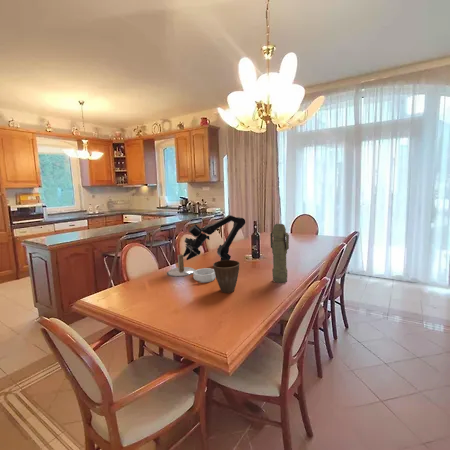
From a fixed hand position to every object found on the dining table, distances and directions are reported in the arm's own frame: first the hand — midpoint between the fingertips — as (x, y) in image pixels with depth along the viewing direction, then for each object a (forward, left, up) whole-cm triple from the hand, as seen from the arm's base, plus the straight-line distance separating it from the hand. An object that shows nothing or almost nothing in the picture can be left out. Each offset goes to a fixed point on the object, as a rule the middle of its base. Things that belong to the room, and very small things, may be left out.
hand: (185, 258), depth 197 cm
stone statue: (-62, +20, -11) cm, 66 cm away
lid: (+3, +1, -9) cm, 10 cm away
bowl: (-15, +14, -11) cm, 23 cm away
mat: (+3, +1, -11) cm, 11 cm away
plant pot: (-30, +34, -11) cm, 47 cm away
